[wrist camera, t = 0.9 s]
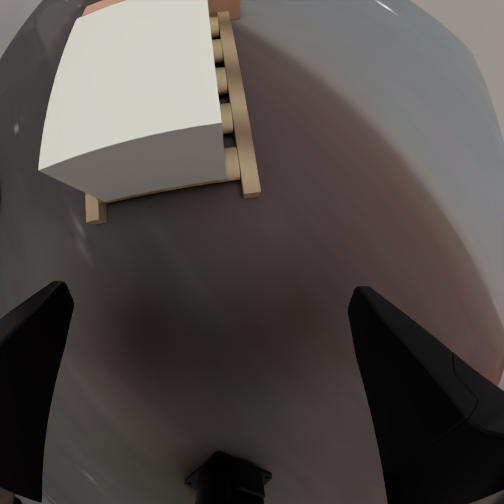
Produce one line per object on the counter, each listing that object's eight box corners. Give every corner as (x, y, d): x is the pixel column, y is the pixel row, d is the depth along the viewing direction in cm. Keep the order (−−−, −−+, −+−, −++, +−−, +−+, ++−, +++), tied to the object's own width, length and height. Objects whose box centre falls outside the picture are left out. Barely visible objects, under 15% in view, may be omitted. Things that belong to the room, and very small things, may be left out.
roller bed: (258, 196, 21) (262, 188, 18) (95, 224, 20) (80, 220, 17) (228, 20, 21) (228, 5, 19) (109, 45, 20) (102, 32, 18)
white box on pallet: (226, 178, 18) (221, 122, 10) (104, 201, 17) (38, 170, 9) (211, 53, 18) (205, -17, 10) (111, 75, 18) (76, 18, 10)
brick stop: (239, 19, 21) (241, -20, 15) (100, 47, 20) (81, 16, 14) (237, 10, 21) (239, -28, 15) (102, 38, 20) (86, 6, 14)
